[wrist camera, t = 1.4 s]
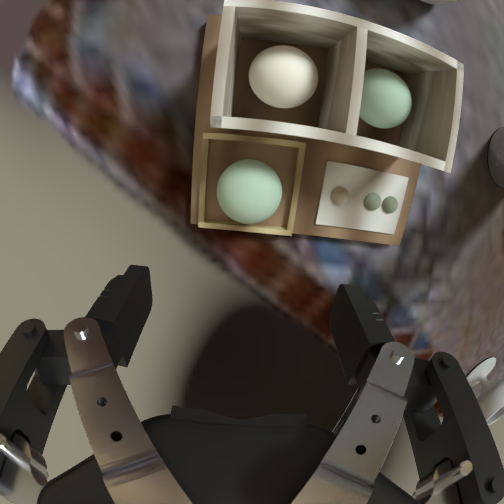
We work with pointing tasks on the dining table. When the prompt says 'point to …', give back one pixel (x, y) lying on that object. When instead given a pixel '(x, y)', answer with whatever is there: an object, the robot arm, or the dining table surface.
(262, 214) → the sage ball
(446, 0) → the teacup
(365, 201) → the sorting board
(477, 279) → the dining table surface
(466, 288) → the dining table surface
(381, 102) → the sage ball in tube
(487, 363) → the chalice
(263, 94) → the cream ball
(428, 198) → the dining table surface
